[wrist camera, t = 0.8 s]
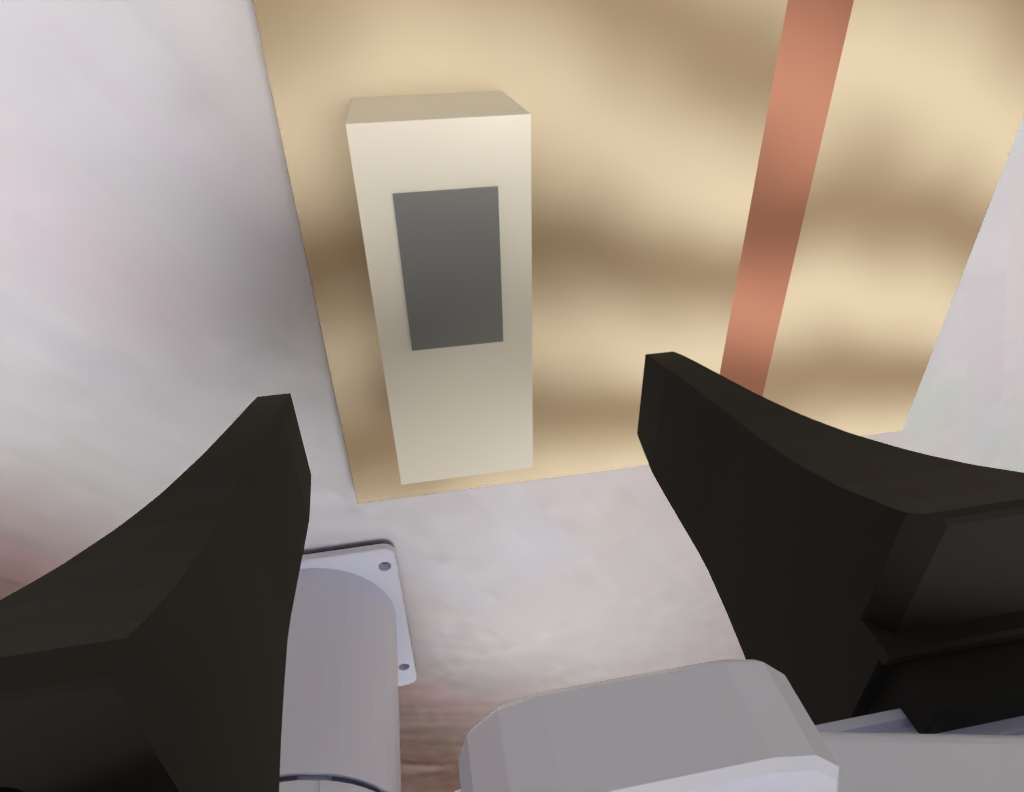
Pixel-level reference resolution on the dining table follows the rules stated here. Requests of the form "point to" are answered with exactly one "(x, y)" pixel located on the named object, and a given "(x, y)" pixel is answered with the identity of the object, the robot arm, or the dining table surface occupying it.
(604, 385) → the board
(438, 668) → the dining table surface
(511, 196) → the block
